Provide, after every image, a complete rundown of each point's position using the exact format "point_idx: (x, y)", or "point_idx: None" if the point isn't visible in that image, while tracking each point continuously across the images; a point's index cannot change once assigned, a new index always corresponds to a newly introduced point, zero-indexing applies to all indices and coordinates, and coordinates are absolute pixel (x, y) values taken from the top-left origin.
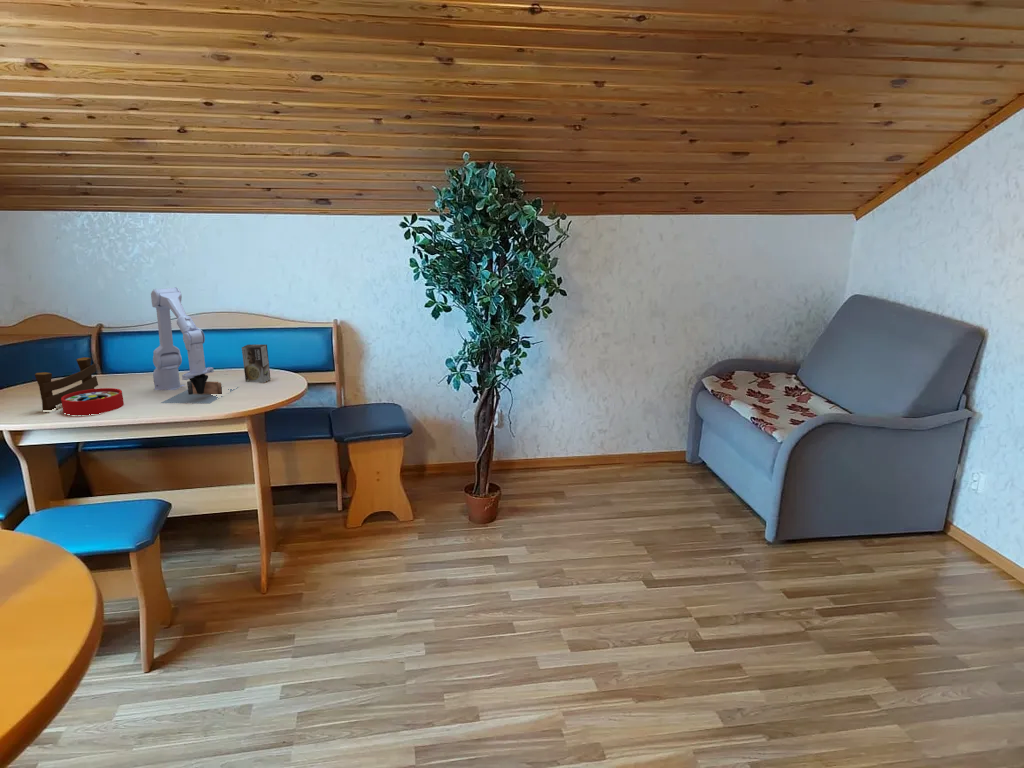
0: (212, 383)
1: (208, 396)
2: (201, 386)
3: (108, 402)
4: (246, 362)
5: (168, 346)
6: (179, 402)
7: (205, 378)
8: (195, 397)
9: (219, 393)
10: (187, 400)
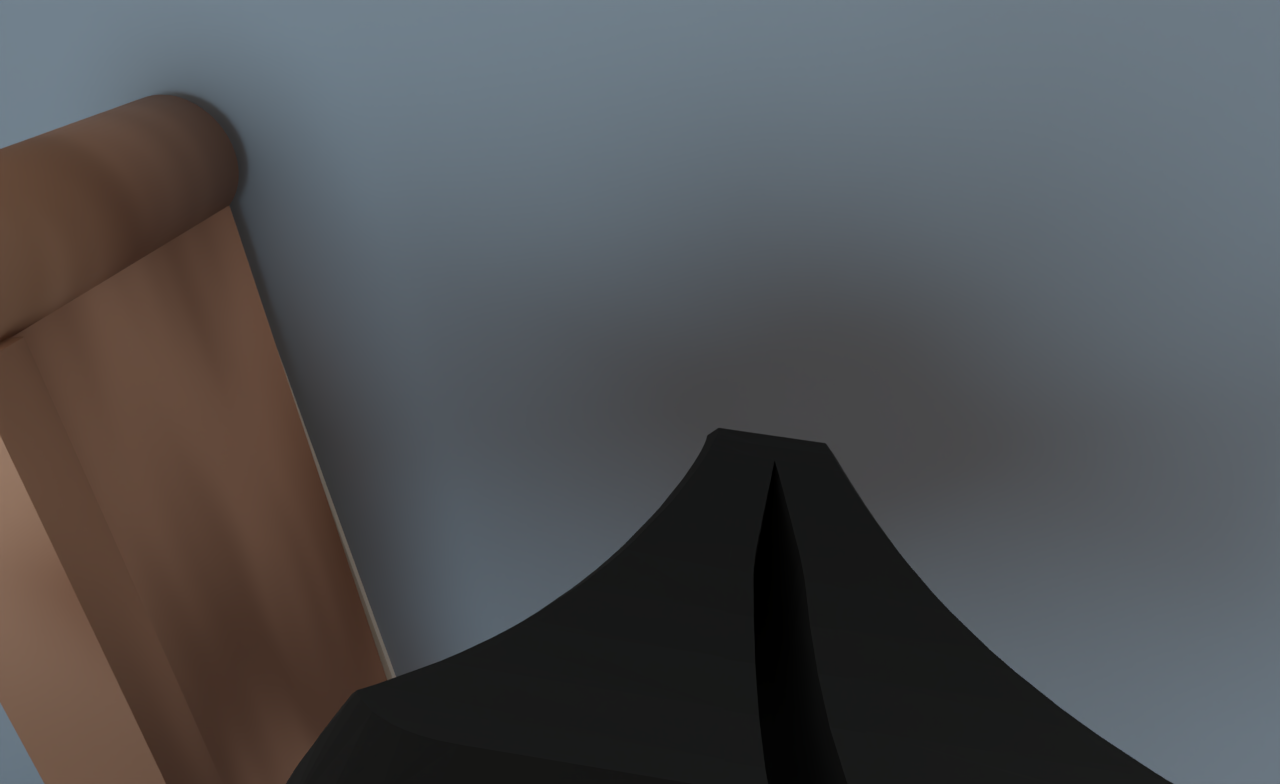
0: (88, 519)
1: (511, 355)
2: (876, 574)
3: None
4: None
5: None
6: (1235, 726)
7: (632, 732)
8: None
9: (217, 148)
10: (1015, 649)
